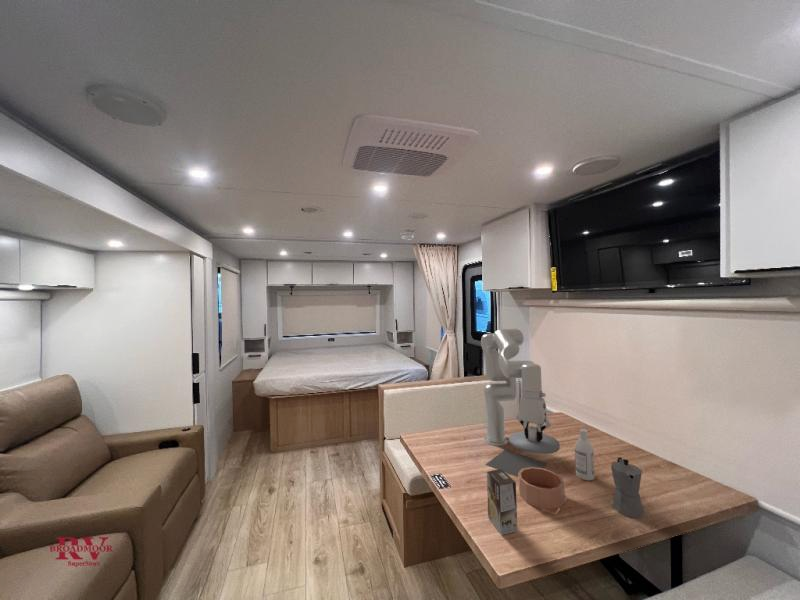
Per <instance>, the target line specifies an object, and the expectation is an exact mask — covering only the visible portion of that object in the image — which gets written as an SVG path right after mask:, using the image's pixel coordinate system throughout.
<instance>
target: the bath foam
mask: <svg viewBox="0 0 800 600" xmlns="http://www.w3.org/2000/svg"><path fill="white" fill-rule="evenodd" d="M594 453H595V452H594V447H593V445H592V443H591V442H590V440H589V439H588V430H587V429H585V428H580V429H579V438H578V439H577V441H576V442H575V445H574V455H575V456H574V460H575V461H574V462H575V466H574V467H575V475H576V476H577V477H578V478H579V479H580V480H584V481H593V480H594V479H595V461H594V459H595V458H594V457H595V456H594V455H595V454H594Z"/></svg>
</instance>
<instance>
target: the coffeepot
mask: <svg viewBox="0 0 800 600" xmlns="http://www.w3.org/2000/svg"><path fill="white" fill-rule="evenodd" d="M610 468H611V472H612V478H613V482H614V485H615V490H614V495H613V501H612V507H613V508H614V510H616V511H617V512H618V513H620V514H621V515H623V516H626V517H629V518H632V519H634V518H635V519H640V518H642V517H643V515H644V508H643V505H642V499H641V496H640V494H639V492H640V489H641V487H640V486H641V480H642V473H643V470H642V469H641V468H639V467H638V466H636V465H635V464H631V463H629V460H628V459H626V458H622V457H618V458H617V459H616V461H612V463H611V465H610Z"/></svg>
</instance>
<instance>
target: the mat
mask: <svg viewBox="0 0 800 600" xmlns="http://www.w3.org/2000/svg"><path fill="white" fill-rule="evenodd" d="M547 465H548V462H546V461H542V460H540V459H536V458H533V457H531V456H527V455H523V454H521V453H519V452H518V453H517V452H516V451H512V450H508V449H504V450H502V451H501V452H500V453H498V454H497V455H496V456H495V457H493V458H492V459H491V460H490V461H488V462H486V464H485V466H487V467H490V468H493V469H494V470H499V469H502V470H503V471H504V472H505V473H506V474H507V475H510V476H511V475H512V476H514V477H516V478H518V472H519V471H520V470H521V469H523V468H528V467H536V468H543V469H545V467H546V466H547Z"/></svg>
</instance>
